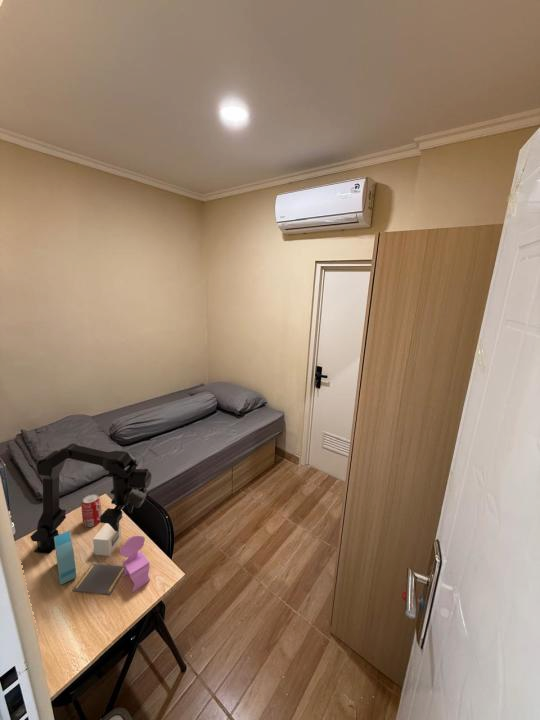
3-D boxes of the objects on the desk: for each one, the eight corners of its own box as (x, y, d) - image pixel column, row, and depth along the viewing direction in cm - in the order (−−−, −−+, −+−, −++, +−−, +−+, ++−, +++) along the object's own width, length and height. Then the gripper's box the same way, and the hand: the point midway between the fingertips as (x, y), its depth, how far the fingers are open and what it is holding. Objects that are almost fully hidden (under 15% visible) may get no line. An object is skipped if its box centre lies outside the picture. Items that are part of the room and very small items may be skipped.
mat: (72, 591, 95) (72, 590, 95) (92, 564, 105) (92, 563, 105) (110, 594, 94) (110, 593, 94) (126, 567, 104) (126, 566, 104)
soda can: (100, 514, 129) (98, 490, 126) (104, 523, 124) (102, 499, 121) (81, 521, 124) (79, 497, 122) (85, 531, 119) (82, 506, 117)
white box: (94, 554, 109) (92, 538, 107) (107, 537, 117) (105, 522, 115) (110, 555, 108) (109, 540, 107) (122, 538, 116) (121, 524, 115)
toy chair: (129, 596, 94) (126, 558, 91) (119, 578, 100) (116, 541, 97) (153, 579, 100) (152, 543, 97) (143, 563, 106) (141, 528, 103)
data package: (76, 579, 99) (73, 550, 97) (60, 587, 96) (57, 557, 94) (71, 556, 108) (68, 528, 105) (57, 562, 105) (53, 534, 102)
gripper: (128, 504, 97) (131, 543, 100) (153, 472, 115) (155, 506, 119) (97, 502, 98) (100, 540, 101) (127, 470, 116) (129, 504, 119)
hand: (123, 521), depth 110 cm, fingers open, 9 cm apart
